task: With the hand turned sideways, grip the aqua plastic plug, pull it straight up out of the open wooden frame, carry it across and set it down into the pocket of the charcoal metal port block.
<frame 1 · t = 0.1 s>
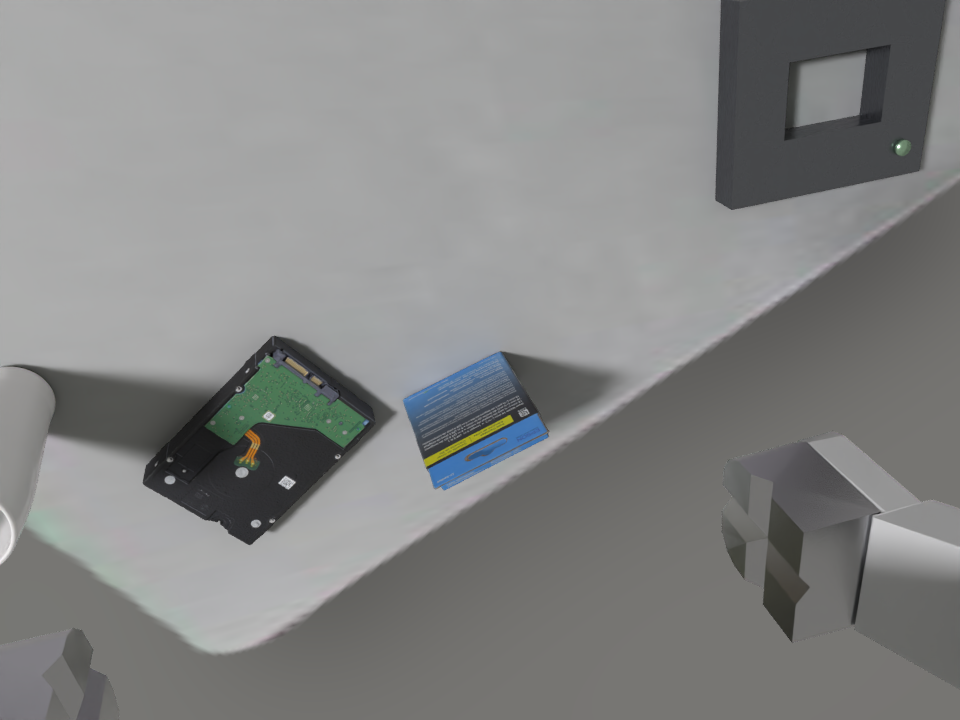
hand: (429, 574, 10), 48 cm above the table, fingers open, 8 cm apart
blue product box: (460, 389, 66), on the table
disk drive: (261, 432, 64), on the table
drinking glass: (15, 395, 57), on the table
port block: (816, 87, 61), on the table
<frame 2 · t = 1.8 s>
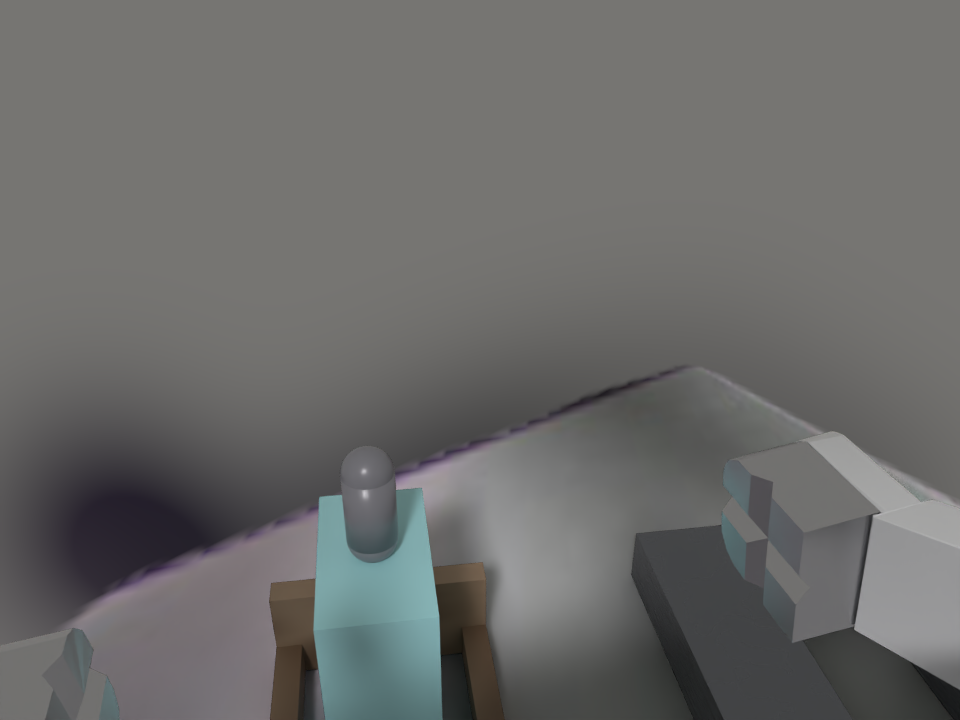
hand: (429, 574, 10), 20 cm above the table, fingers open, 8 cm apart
port block: (867, 697, 33), on the table
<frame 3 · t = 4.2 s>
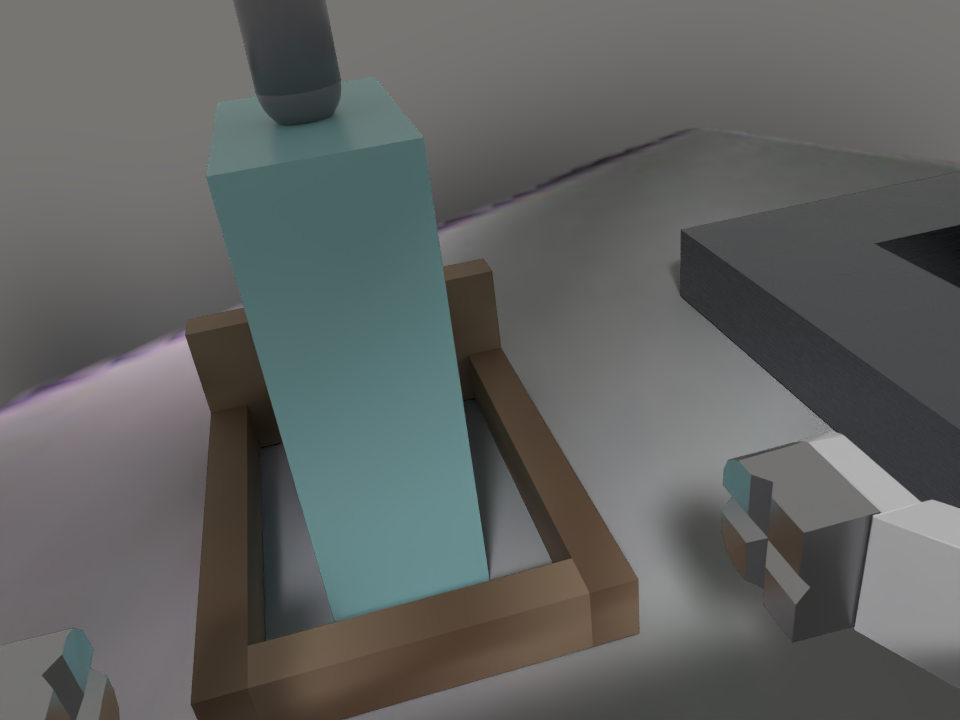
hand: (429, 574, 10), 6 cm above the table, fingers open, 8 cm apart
open wooden frame: (392, 516, 21), on the table
plug: (392, 517, 21), resting in open wooden frame
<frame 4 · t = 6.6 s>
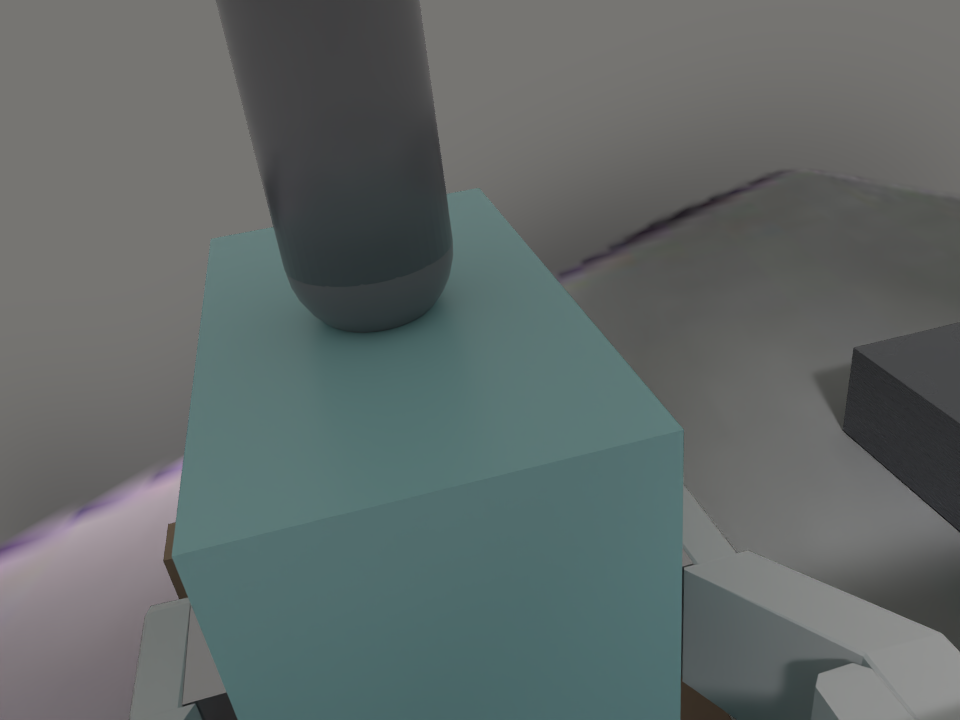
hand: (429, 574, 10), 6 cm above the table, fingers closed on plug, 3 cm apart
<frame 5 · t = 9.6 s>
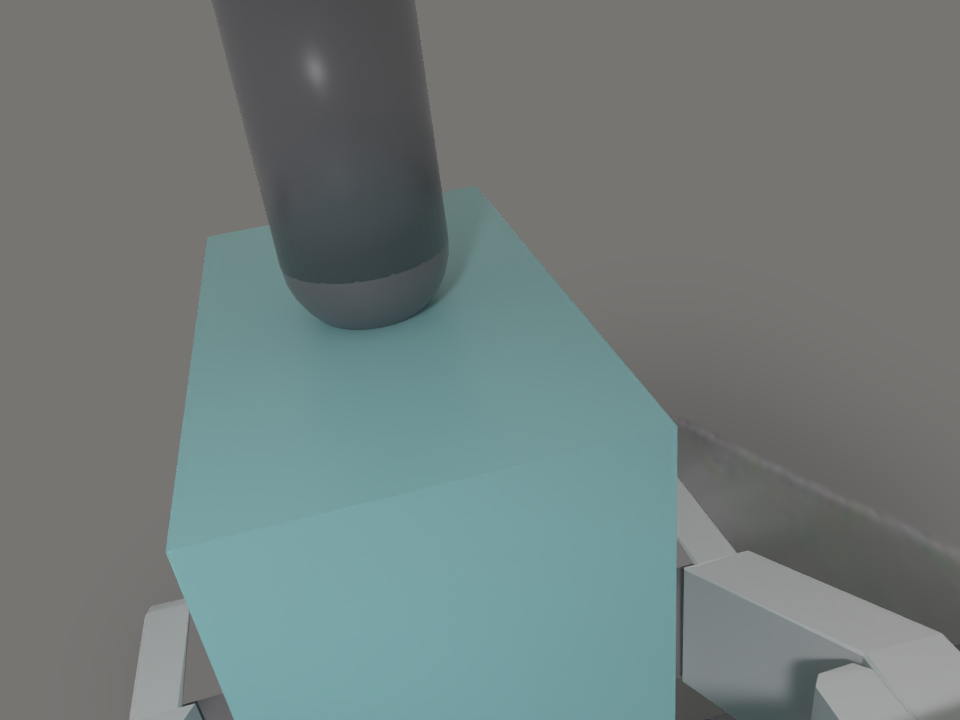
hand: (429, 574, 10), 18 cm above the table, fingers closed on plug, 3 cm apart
when the fingers open (7 cm above the table, at t = 12.8 s): plug drops 1 cm, resting in port block.
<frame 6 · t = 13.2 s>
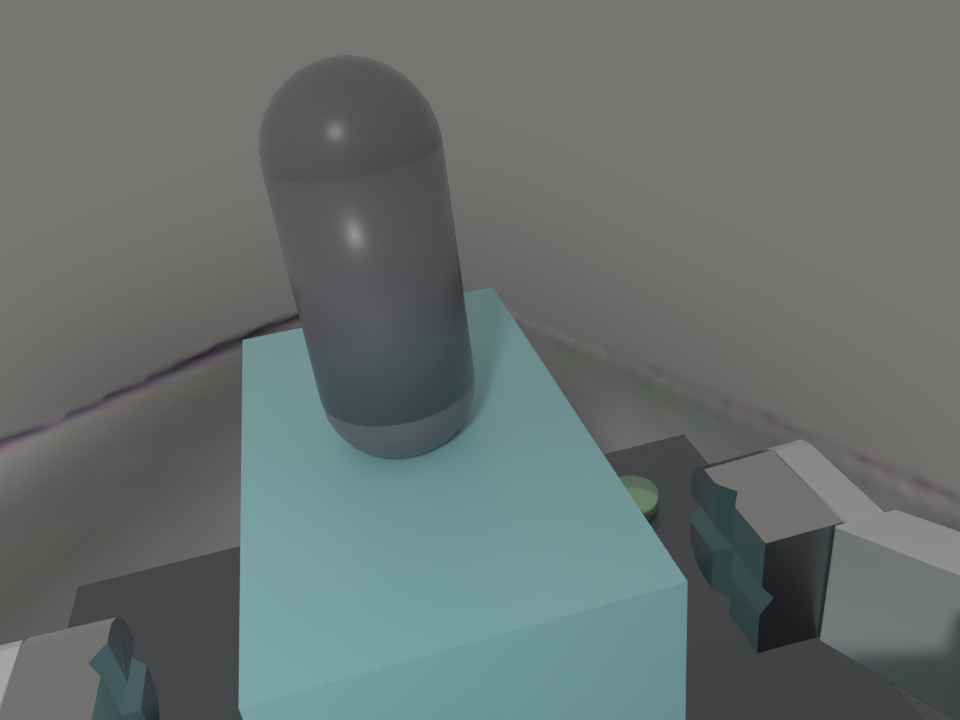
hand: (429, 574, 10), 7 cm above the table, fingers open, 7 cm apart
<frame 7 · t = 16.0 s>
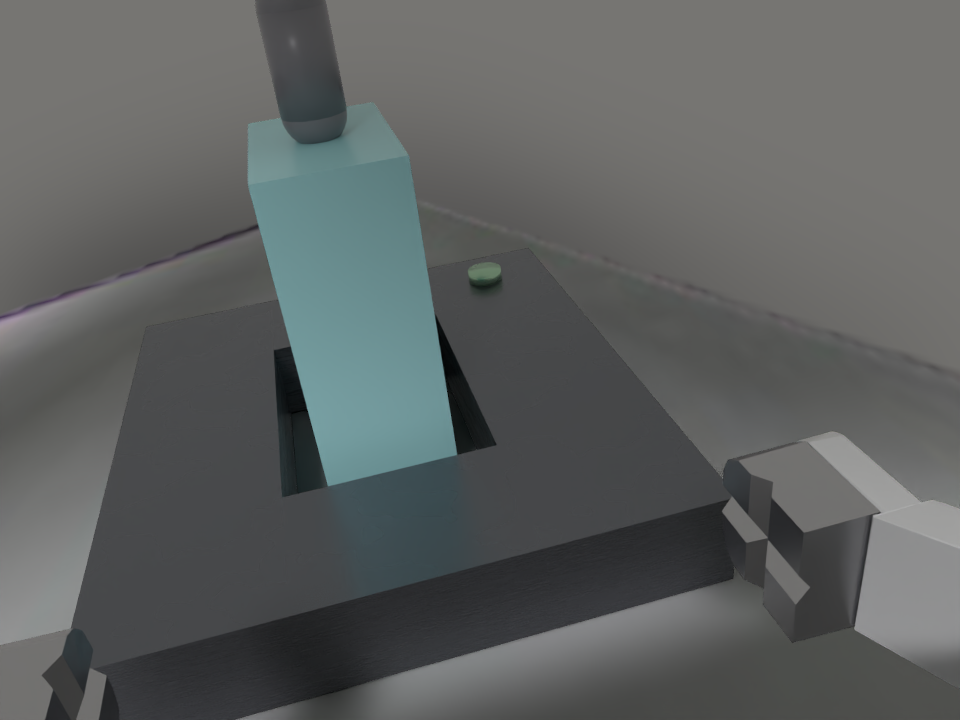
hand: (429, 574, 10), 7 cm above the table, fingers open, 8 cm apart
port block: (386, 459, 25), on the table
plug: (388, 460, 25), resting in port block
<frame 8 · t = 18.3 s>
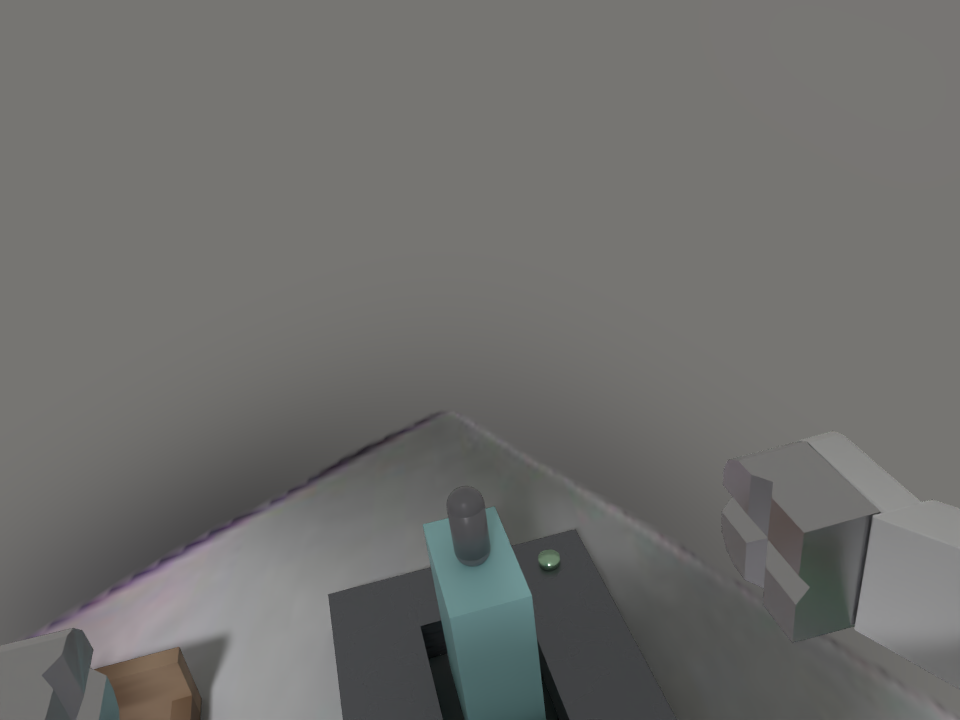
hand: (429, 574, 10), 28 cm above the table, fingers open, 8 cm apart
port block: (495, 705, 41), on the table
plug: (497, 705, 41), resting in port block
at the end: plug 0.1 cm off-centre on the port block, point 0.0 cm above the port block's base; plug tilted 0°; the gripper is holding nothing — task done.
